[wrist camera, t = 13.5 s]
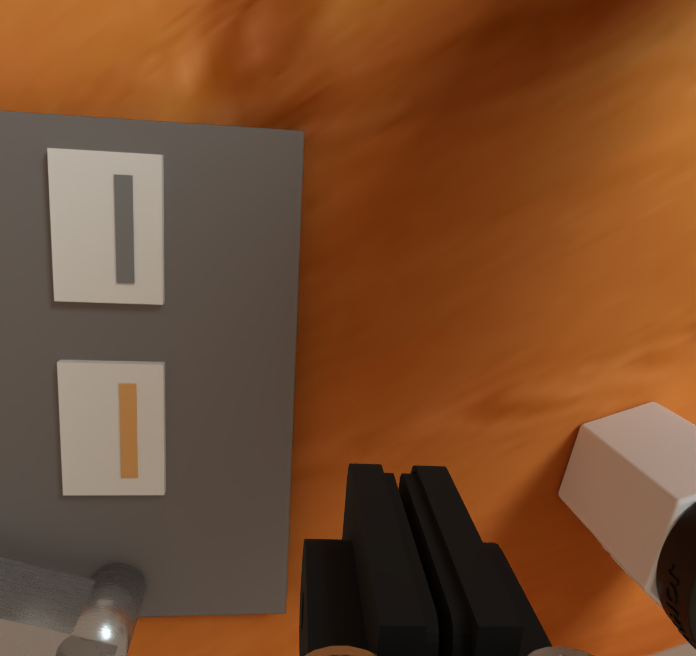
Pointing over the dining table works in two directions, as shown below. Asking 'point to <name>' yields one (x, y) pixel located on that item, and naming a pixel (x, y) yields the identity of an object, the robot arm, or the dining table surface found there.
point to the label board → (150, 354)
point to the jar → (641, 501)
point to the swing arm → (68, 610)
